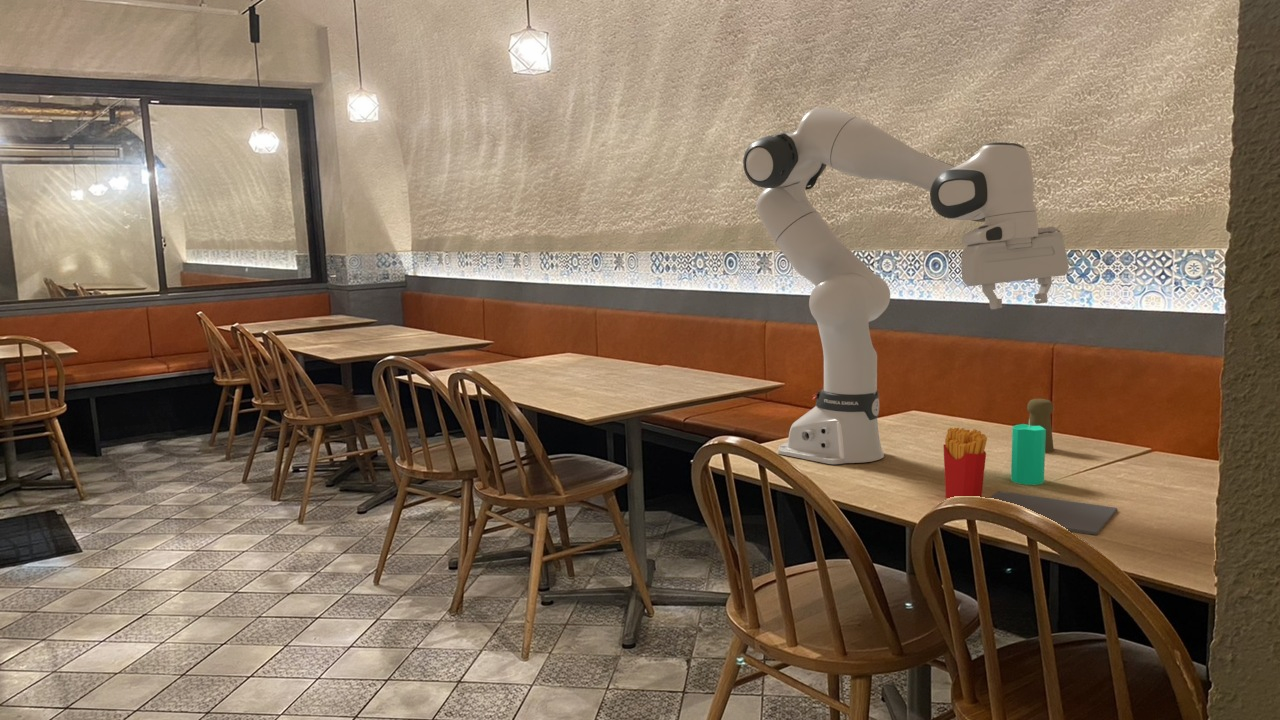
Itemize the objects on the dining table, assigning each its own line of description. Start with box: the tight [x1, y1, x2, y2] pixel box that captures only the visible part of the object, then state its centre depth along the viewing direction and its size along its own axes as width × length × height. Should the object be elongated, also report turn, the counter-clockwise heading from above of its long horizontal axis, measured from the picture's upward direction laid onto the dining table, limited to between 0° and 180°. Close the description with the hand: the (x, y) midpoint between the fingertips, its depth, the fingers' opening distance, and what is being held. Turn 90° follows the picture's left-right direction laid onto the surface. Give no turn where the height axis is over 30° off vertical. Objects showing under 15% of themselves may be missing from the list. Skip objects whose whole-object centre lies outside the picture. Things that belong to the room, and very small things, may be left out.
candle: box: [1010, 418, 1046, 486], centre depth 189 cm, size 6×6×12 cm
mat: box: [989, 490, 1118, 536], centre depth 169 cm, size 20×16×1 cm
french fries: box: [943, 427, 988, 499], centre depth 176 cm, size 9×4×13 cm, turn 23°
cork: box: [1026, 398, 1054, 453], centre depth 214 cm, size 6×6×11 cm
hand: (1019, 306), depth 182 cm, fingers open, 8 cm apart
